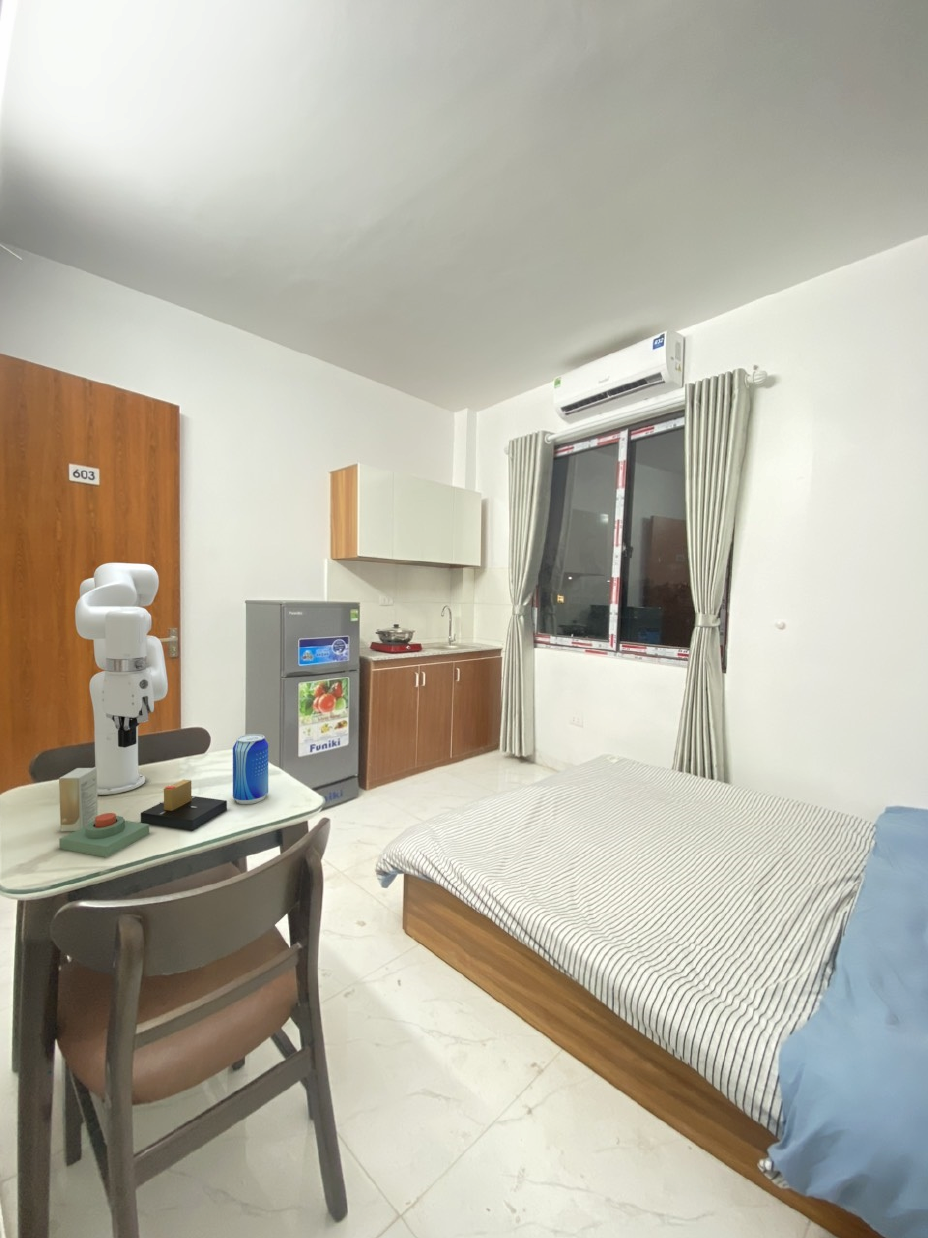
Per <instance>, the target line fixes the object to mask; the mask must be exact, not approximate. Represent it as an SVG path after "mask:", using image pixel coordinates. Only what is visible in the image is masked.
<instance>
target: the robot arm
mask: <svg viewBox="0 0 928 1238" xmlns="http://www.w3.org/2000/svg"><path fill="white" fill-rule="evenodd" d="M159 578H160V577H159V574H158V571H156V569H155V568H154V567H153V566H152V565H151V564H147V563H131V562H130V563H128V562H106V563H103V564H101V565H100V566H98V567H97V568H96V569H95V571H94V573H93V577H90V578H89V577H88V578H87V579H84V580H83V581H82V582H81V583H80V585H79V598H78V600H77V602H76V603H75V608H74V609H75V610H74V618H75V629H76V632H77V633H78V635H79V636H80V637H81V638H83V639H85V640H90V641H91V640H93V655H94V661H95V664H96V666H97V667H98V668H99V669H101V670H103V671H100V672H97V673H95V674H93V676H92V677H91V678H90V681H89V694H90V700H91V704H92V710H93V724H94V730H93V731H94V767H93V768H97V796H107V795H108V796H109V795H115V794H123V793H124V792H129V791H132V790H135V789H137V788H139V787H141V786H143V785H144V783H145V782H146V776H145V775H143V774H140V773H139V726H140V724H142V723H146V722H148V721H149V714H153V712H154V710H155V702H158V701H162V700H164V699H165V698H166V697H167V694H168V691H169V690H168V689H169V682H168V675H167V674H168V673H167V668H166V667H167V666H166V659H165V654H164V653H165V652H164V647H163V644H162V642H161V640H160V639H159V638H158V637H157V636H155V635H148V633H149V631H151V629H152V624H153V623H152V615H151V613H149V611H148V610H147V609H146V608H145V607H147V606H148V607H149V606H151V604H153V602H154V600H155V598H156V595H157V593H158V590H159V587H160V580H159Z"/></svg>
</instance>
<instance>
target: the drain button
mask: <svg viewBox="0 0 928 1238" xmlns="http://www.w3.org/2000/svg"><path fill="white" fill-rule="evenodd" d="M116 816H117V815H116V813H115V812H106V813H102V814H100V815H99V814H98V816H97V817H96V818H95V827H96V828H102V827H107V826H111V825H113V824H115V823H116Z"/></svg>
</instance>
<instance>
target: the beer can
mask: <svg viewBox="0 0 928 1238" xmlns="http://www.w3.org/2000/svg"><path fill="white" fill-rule="evenodd" d="M268 793H269V743H268V741H267V740H266V738H265V735H264V734H260V733H247V734H243V735H240V736H238V737H236V741H235V743H234V744H233V747H232V798H233V799H234V800H235V802H236V803H237V804H240V805H252V804H256V803H259V802H262V801H263V800H265V798H266V796H267V795H268Z"/></svg>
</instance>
